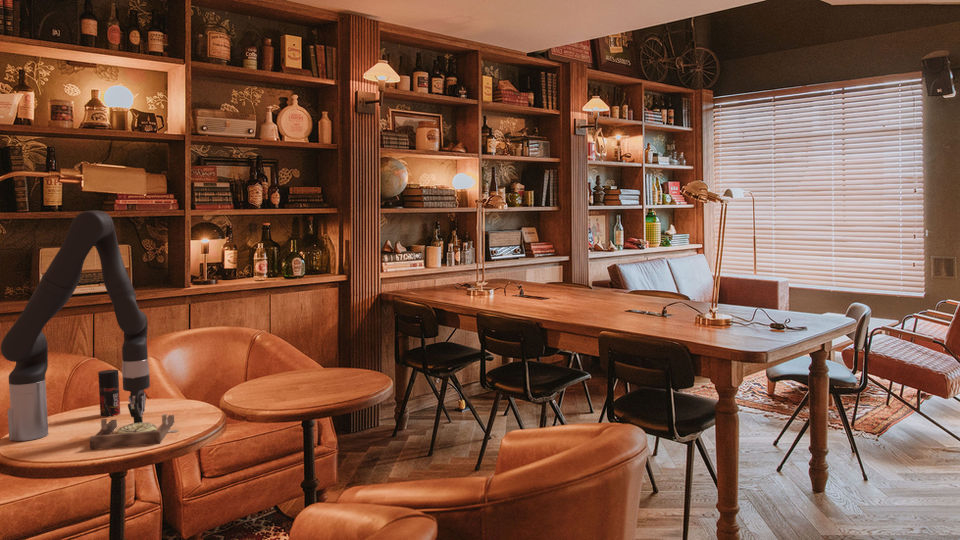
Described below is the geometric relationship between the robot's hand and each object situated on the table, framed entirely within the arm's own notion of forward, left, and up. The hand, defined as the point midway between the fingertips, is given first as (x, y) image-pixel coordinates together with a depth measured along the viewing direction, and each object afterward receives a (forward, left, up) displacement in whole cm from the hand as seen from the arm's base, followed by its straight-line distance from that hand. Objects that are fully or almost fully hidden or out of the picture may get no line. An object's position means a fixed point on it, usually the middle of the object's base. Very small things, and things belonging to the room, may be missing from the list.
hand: (138, 428), depth 206 cm
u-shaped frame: (0, -5, -1) cm, 5 cm away
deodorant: (-14, +23, -1) cm, 27 cm away
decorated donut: (+1, -7, -1) cm, 7 cm away
